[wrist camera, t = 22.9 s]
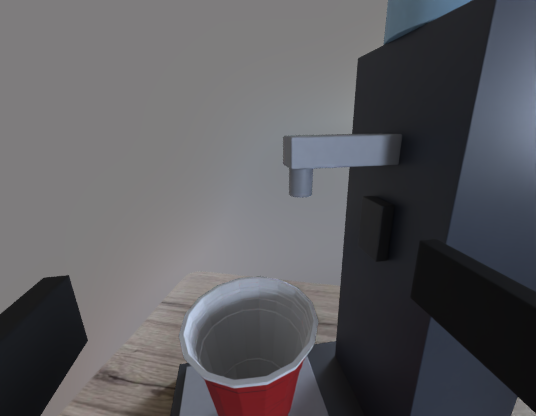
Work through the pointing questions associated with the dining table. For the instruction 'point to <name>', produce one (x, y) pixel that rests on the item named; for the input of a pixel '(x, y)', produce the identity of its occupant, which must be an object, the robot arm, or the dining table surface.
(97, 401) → the dining table surface
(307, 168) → the water dispenser
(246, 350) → the plastic cup
